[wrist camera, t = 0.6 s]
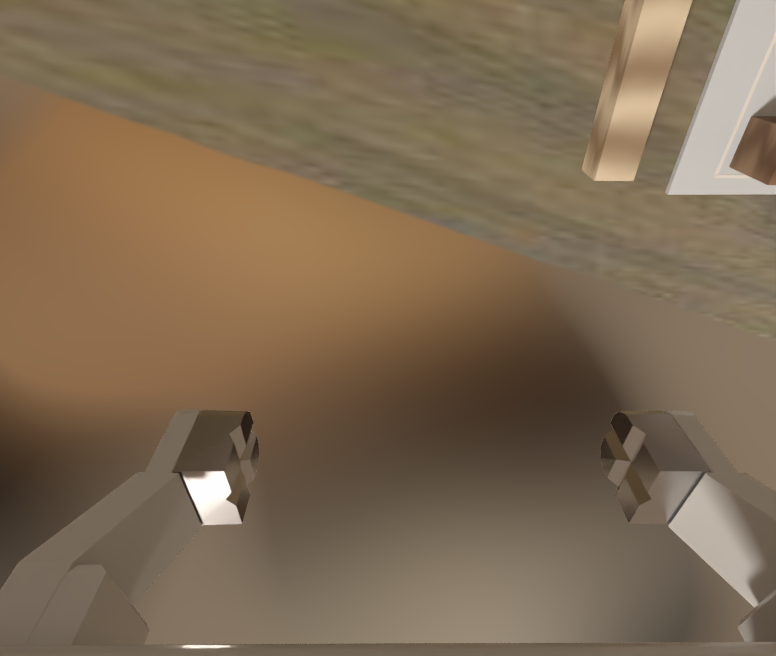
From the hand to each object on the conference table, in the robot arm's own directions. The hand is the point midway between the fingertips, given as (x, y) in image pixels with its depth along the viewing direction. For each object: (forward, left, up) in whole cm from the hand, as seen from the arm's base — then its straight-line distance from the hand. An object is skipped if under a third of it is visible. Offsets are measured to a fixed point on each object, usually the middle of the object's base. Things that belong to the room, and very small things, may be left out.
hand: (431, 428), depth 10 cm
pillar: (+4, +38, -42) cm, 57 cm away
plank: (-3, +22, -43) cm, 49 cm away
